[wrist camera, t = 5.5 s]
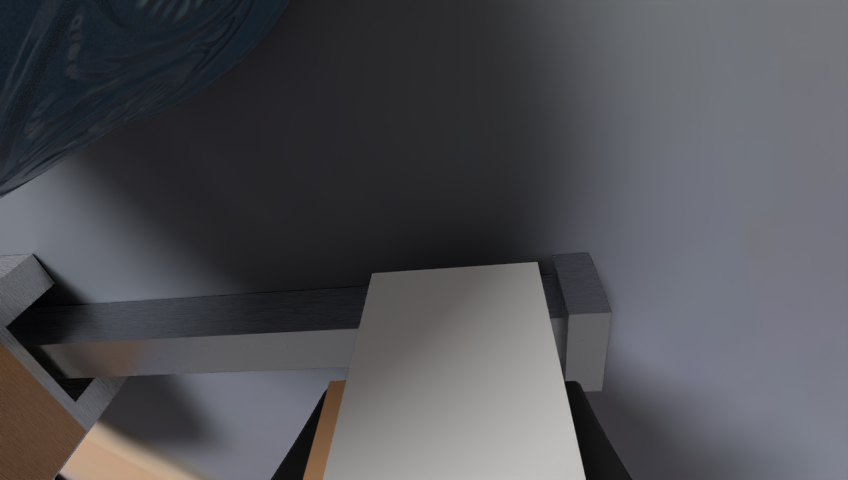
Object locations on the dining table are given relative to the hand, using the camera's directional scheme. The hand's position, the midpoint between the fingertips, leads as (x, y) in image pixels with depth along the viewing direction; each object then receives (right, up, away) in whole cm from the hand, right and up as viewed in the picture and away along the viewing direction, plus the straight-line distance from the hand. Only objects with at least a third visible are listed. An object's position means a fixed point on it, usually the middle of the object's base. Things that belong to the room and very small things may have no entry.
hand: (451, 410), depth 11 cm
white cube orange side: (0, +1, +2) cm, 2 cm away
